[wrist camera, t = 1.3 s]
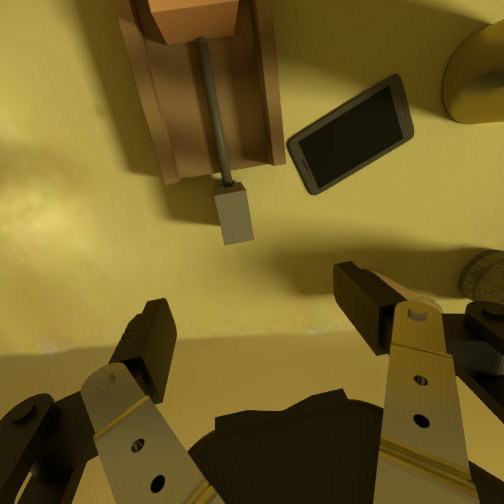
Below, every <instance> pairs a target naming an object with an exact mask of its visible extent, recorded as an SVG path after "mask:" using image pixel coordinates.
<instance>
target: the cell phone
mask: <svg viewBox="0 0 504 504" xmlns="http://www.w3.org/2000/svg"><path fill="white" fill-rule="evenodd" d="M413 136H414V126H413V122H412V119H411V115H410V111H409V107H408V103H407V99H406V95H405V92H404V88H403V84H402V80H401V78H400V76H399V75H398V74H394V75H392V76H390V77H388V78H386V79H385V80H383V81H381V82H380V83H378V84H377V85H375V86H373V87H372V88H370V89H369V90H367V91H365V92H364V93H362V94H361V95H359V96H357V97H356V98H354V99H353V100H351V101H349V102H348V103H346V104H345V105H343V106H342V107H340V108H338V109H337V110H335V111H334V112H332V113H330V114H329V115H327V116H326V117H324V118H322V119H321V120H319V121H318V122H316V123H314V124H313V125H311V126H310V127H308V128H306V129H305V130H303V131H302V132H300V133H299V134H297V135H296V136H294V137H293V138H291V139H290V140H289V142H288V149H289V152H290V154H291V156H292V158H293V160H294V163H295V165H296V167H297V169H298V171H299V173H300V175H301V177H302V179H303V181H304V184H305V186H306V188H307V190H308V191H309V193H310V194H311V195H317V194H319V193H321V192H323V191H325V190H327V189H328V188H330V187H332V186H333V185H335V184H337V183H338V182H340V181H342V180H343V179H345V178H347V177H348V176H350V175H352V174H354V173H355V172H357V171H359V170H360V169H362V168H364V167H365V166H367V165H369V164H370V163H372V162H374V161H375V160H377V159H379V158H380V157H382V156H384V155H385V154H387V153H389V152H390V151H392V150H394V149H395V148H397V147H399V146H400V145H402V144H404V143H405V142H407V141H409V140H410V139H411V138H413Z"/></svg>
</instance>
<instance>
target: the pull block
mask: <svg viewBox="0 0 504 504" xmlns="http://www.w3.org/2000/svg"><path fill="white" fill-rule="evenodd" d="M148 2H149V6H150V10H151V13H152V15H153V17H154V19H155V21H156V23H157V25H158V27H159V29H160V31H161V33H162V35H163V37H164V39H165V41H166V43H167V45H173V44H180V43H187V42H194V41H196V47H197V52H198V57H199V62H200V68H201V73H202V78H203V83H204V88H205V93H206V98H207V103H208V109H209V114H210V119H211V124H212V129H213V134H214V139H215V145H216V150H217V155H218V160H219V165H220V170H221V175H222V180H223V185H220V186H215V191H214V198H215V203H216V207H217V212H218V217H219V221H220V226H221V231H222V236H223V240H224V245H229V244H235V243H240V242H245V241H250V240H254V237H253V231H252V225H251V219H250V212H249V206H248V200H247V194H246V190H245V188H244V186H243V185H242V183H241V182H237V183H232V178H231V172H230V167H229V161H228V156H227V150H226V144H225V139H224V133H223V128H222V122H221V117H220V111H219V106H218V100H217V94H216V89H215V83H214V78H213V72H212V67H211V61H210V56H209V50H208V44H207V41H206V40H207V39H214V38H221V37H228V36H234V31H235V24H236V17H237V10H238V3H239V0H148Z"/></svg>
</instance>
